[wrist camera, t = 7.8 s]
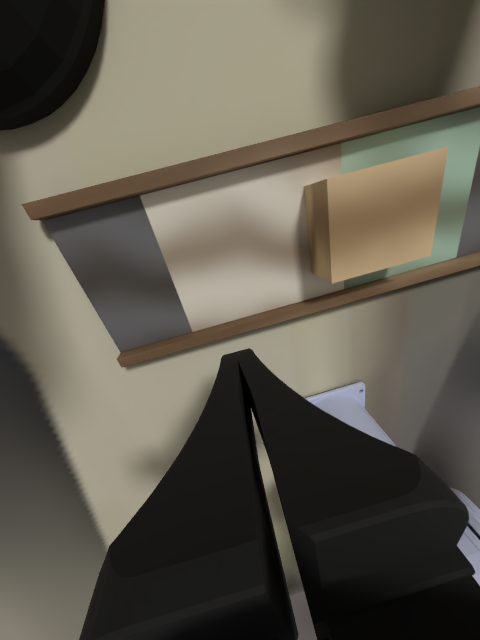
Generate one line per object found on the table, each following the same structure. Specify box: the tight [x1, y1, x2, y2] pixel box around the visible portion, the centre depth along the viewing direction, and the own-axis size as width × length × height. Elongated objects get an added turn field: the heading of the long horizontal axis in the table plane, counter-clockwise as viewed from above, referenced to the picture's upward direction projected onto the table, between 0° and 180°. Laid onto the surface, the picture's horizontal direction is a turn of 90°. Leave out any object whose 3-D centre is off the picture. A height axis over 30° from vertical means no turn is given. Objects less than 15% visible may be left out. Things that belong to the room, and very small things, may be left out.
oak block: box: [304, 147, 448, 283], centre depth 14 cm, size 6×7×3 cm
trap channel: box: [22, 86, 480, 367], centre depth 15 cm, size 12×34×1 cm, turn 103°
